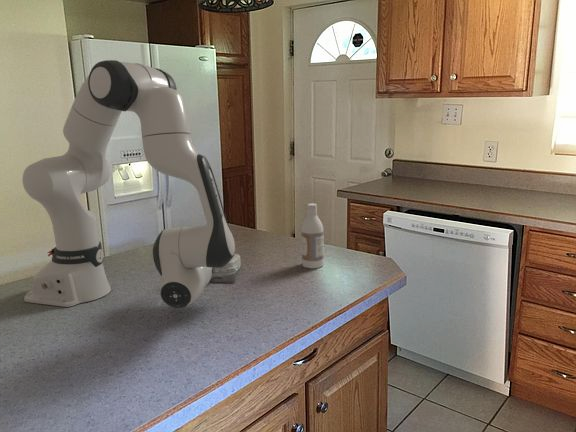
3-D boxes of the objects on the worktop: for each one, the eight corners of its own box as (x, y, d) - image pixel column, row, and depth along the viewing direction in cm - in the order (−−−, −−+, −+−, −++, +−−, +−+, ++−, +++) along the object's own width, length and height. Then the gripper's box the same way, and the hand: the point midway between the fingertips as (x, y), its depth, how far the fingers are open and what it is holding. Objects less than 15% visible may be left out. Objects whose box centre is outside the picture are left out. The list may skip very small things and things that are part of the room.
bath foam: (298, 263, 160) (297, 203, 155) (317, 260, 162) (317, 201, 158) (307, 270, 154) (306, 207, 149) (327, 267, 156) (327, 205, 151)
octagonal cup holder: (194, 282, 146) (193, 261, 145) (205, 268, 158) (204, 248, 156) (234, 282, 145) (233, 261, 143) (242, 268, 156) (241, 249, 155)
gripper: (234, 259, 124) (245, 243, 137) (155, 259, 126) (173, 243, 139) (236, 283, 125) (246, 265, 139) (157, 282, 127) (175, 264, 141)
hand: (209, 254), depth 139 cm, fingers open, 8 cm apart
